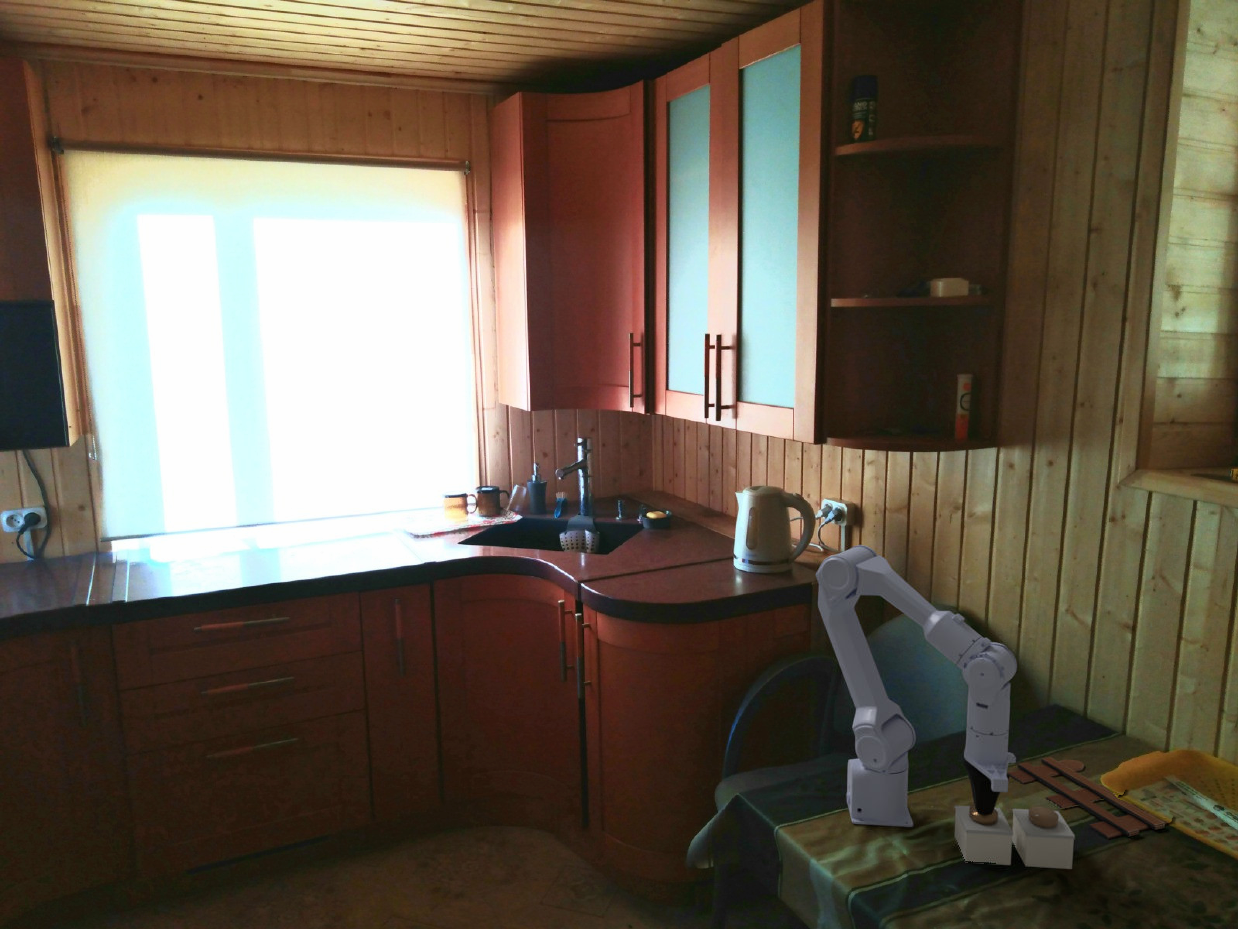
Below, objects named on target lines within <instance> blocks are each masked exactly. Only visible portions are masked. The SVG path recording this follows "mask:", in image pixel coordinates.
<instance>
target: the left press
mask: <svg viewBox="0 0 1238 929" xmlns="http://www.w3.org/2000/svg"><path fill="white" fill-rule="evenodd" d="M970 806H971V805H954V810H955V815H954V816H955V818H954V839H955V838H956V840H957V842H958V844H957V846H958V845H959V847H960V849H961V851H960V853H961V852H962V854H963V856H962V858H963V857H964V858H963V860H964V859H965V861H971V862H972V861H973V862H989V863H990V862H991V863H996V864H995V865H998V866H999V865H1003V866H1011V864H1012V862H1011V861H1012V844H1013V842H1012V836H1013V828H1011V826H1010V824H1009V822H1008V820H1007V819H1006V816H1005V815H1004V813H1003V811H1002V810H1001V808H1000V807H995V808H994V809H995V810H996V811H997V812H998V822H997V823H996V824H993V825H983V824H979V823H977V822H975V821H973V820H972V819H971V818H970V817H969V808H970ZM956 840H955V841H956ZM957 842H956V843H957ZM959 847H958V848H959ZM960 849H959V850H960ZM962 854H961V855H962ZM965 861H964V862H965Z"/></svg>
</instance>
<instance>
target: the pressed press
mask: <svg viewBox="0 0 1238 929" xmlns="http://www.w3.org/2000/svg"><path fill="white" fill-rule="evenodd" d="M1012 813H1013V815H1012V831H1013V836H1012V844H1013V843H1014V844H1013V846H1014V845H1015V846H1014V847H1015V849H1016V851H1017V853H1018V854H1019V857H1020V858H1021V860H1022V862H1023V864H1024V866H1025V867H1033V868H1034V867H1035V868H1047V869H1049V868H1050V869H1066V870H1072V869H1073V860H1074V859H1073V856H1074V840H1076V835H1075V833H1074V832H1073V831H1072V830H1071V828H1070V827H1069V825H1068V823H1067V822H1066V821H1065V819H1064V817H1063V815H1061V813H1060V811H1059V810H1052V809H1050V808H1049V807H1048V808H1047V807H1044V806H1032V807H1030V808H1029V809H1026V808H1025V809H1024V808H1012Z"/></svg>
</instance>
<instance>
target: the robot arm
mask: <svg viewBox="0 0 1238 929" xmlns="http://www.w3.org/2000/svg"><path fill="white" fill-rule="evenodd" d="M892 568H893V567H892V566H891V565H890V564H889V562H888V560H887V559H886V558H885V557H883V556H881V555H879V554H877V552H876V551H875V550H874V549H873V548H872V547H870V546H867V545H863V544H857V545H854V546H852V547H850V548H849V549H847V550H844V551H842V552H840V553H836V554H832V555H829V556H828V557H826V558H824V560H823V561H822V562H821V564H820V566H819V568H818V570H817V571H816V573H815V578H816V579H817V583H818V593H817V594H818V595H817V596H818V597H817V607H818V610H819V612H820V613H819V614H820V616H821V619H822V621H823V624H824V627H825V629H826V631H827V635H828V638H829V640H830V643H831V646H832V648H833V651H834V654H835V656H836V658H837V661H838V664H839V667H840V669H841V672H842V675H843V678H844V680H845V683H846V685H847V689H848V691H849V694H850V697H851V699H852V701H853V704H854V707H855V714H854V718H853V723H852V731H853V734H854V737H855V738H854V739H855V741H854V742H855V743H854V747H855V750H854V751H855V753H856V756H857V758H852V759H848V762H847V776H846V777H847V778H846V779H847V780H846V782H847V784H846V787H847V790H846V804H847V807H848V811H849V816H850V820H851V823H852V824H855V825H867V826H868V825H869V826H871V825H873V826H887V827H904V828H913V827H914V822H913V819H912V816H911V814H910V810H909V808H908V789H909V788H908V784H909V782H908V781H909V779H908V778H909V758H908V754H909V753H908V751H909V750H911V749H913V747H914V745H915V744H916V739H917V737H916V732H915V729H914V727H913V725H912V724H911V722H910V721H909V719H907V718H906V716H904V713H903V711H902V709H901V706H900V705H898V704H897V703H895V701H892V700H890V699H889V697H888V694H887V691H886V689H885V687H884V684H883V681H882V678H881V676H880V672H879V671H878V668H877V664H876V663H875V660H874V657H873V655H872V652H871V648H870V647H869V644H868V642H867V639H866V638H867V637H866V636H865V634H864V631H863V628H862V624H860V623H861V622H860V621H859V617H858V616H857V613H856V610H855V606H856V604H857V602H858V600H859V599H860V597H861V596H879V597H882V599H884V600H885V601H887V602H888V603H890V604H891V605H892V606H893V607H895V608H896V609H897V610H899V611H900V612H902V613H903V614H904V615H906V616H907V617H908V618H909V619H911V620H912V621H914V622H915V623H917V624H918V625H919V626H920V627H921V628H922V629H923V634H924V639H925V641H927V642H928V643H929V644H930V645H931V646H933V647H934V648H935V649H936V650H937V651H939V652H940V653H941V654H942V655H943V656H945V657H946V658H947V659H948V660H949V661H951V662H952V663H953V664H954V665H956V666H957V667H958V668H959V669H960V670H962V671H961V673H962V677H963V679H964V681H965V683H966V684H967V685H968V694H967V714H966V715H967V716H966V734H965V735H966V736H965V737H966V739H965V746H964V749H963V750H964V751H963V753H964V754H963V756H964V759H965V760H963V761H962V764H963V766H964V769H965V770H966V773H967V775H968V779H969V782H970V788H971V794H972V798H973V805H975V809H976V811H977V813H978V814H992V813H993V810H994V808H996V804H997V802H998V798H999V796H1000V794H1001V793H1008V791H1009V790H1008V789H1009V781H1010V776H1008V774H1007V773H1008V768H1009V764H1015V763H1016V760H1017V757H1016V756H1015V754H1014V753H1012V752H1009V749H1008V748H1009V732H1010V731H1009V730H1010V712H1011V709H1010V708H1011V699H1010V697H1011V682H1010V680H1011V679H1012V678H1013V677H1014V676H1015V674H1016V672H1017V669H1018V664H1017V663H1018V662H1017V659H1016V657H1015V655H1014V654H1013V653H1012V651H1011V650H1010V649H1008V647H1007V645H1005V644H1003V643H999V642H992V640H990V639H989V638H988V637H983V636H982V635H981V634H979V633H978V632H977V631H976V630H974V629H973V628H972V627H971V626H970V625H969V624H967V623H966V622H965V620H966V618H965V617H964V616H962V615H961V614H960V613H957V614H954V613H953V612H952V611H951V610H938V609H936V608H935V607H934V605H932V604H931V603H930V602H929V601H927V599H925V598H924V597H923V596H922V595H921V594H920V593H919V592H918V591H917V590H915V589H914V588H913V587H912V586H911V585H910V584H909V583H908V582H906V580H904V579H903V578H902V577H901V576H900V575H899V574H898V573H896V571H895V570H894V569H892Z"/></svg>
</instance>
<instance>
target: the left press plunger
mask: <svg viewBox="0 0 1238 929" xmlns="http://www.w3.org/2000/svg"><path fill="white" fill-rule="evenodd" d="M969 806H970V808H969V817H970V818H971V819H972V820H973V821H975V822H977V823H979V824H983V825H993V824H996V823H997V822H998V812H997V811H996V810H995V809H994V810H993V813H992V814H978V813H977V811H976V809H975V805H974V804H972V805H969Z"/></svg>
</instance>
